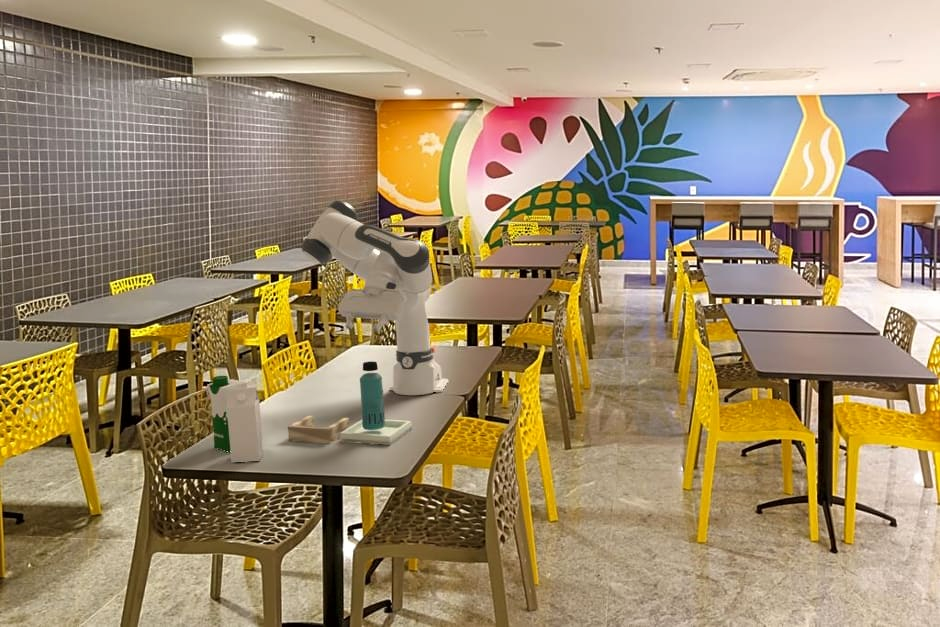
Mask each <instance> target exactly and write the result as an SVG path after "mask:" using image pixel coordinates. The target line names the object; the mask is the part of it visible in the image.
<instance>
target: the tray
mask: <svg viewBox="0 0 940 627" xmlns="http://www.w3.org/2000/svg"><path fill="white" fill-rule="evenodd" d="M384 422H385V423H384V424H385V425H384V427H383V428H381V429H377V430H366V429H364V428H363V425H362V419H360V420H359V421H357V422H355V423H353V424H352V425H350V426H349V428H347V429H346V430H344V431H343V432H341V433H340V438H339V440H340V441H344V442H343V443H349V442H361V443H360V444H363V443H374V444H373V445H377V444H383V445H382V446H392V445H393V444H394V443H395V442H397V441H399V440H400V439H401V438H403V437H404V436H405V435H407V434H408V433H409V432H410V431H412V430H413V424H412V422H413V421H412V420H398V419H397V420H396V419H385V420H384ZM391 444H392V445H391Z"/></svg>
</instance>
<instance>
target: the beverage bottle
mask: <svg viewBox="0 0 940 627" xmlns="http://www.w3.org/2000/svg"><path fill="white" fill-rule="evenodd" d="M378 369H379V367H378V363H377V361H364V362H363V363H362V371H363V372H368V373H364V374H363V375H361V376H360V378H359V386H360V387H359V388H360V389H359V390H360V403H361V406H360V407H361V418H362V419H361V420H362V425H363V428H364V429H366V430H377V429H381V428H383V427H384V425H385V424H384V423H385V422H384V420H386V418H385V404H384V389H383V377H382V376H381V374H379V373H378V372H373V371H377V370H378Z"/></svg>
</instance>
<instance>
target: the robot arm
mask: <svg viewBox="0 0 940 627" xmlns="http://www.w3.org/2000/svg"><path fill="white" fill-rule="evenodd" d="M301 251H302V252H303V254H304V255H305V257H306V258H307V259H308V260H309V261H311V262H313V263H315V264H318V265H326V264H328V263H329V262H330V261H331V260H332V259H333V258H334V259H335V260H336V261H338V263H340V264H341V265H342V266H343V267H344V268H345V269H346V270H348V271H349V272H351V273H352V274H354V275H355V276H357V277H358V278H360V279H361V280H362V281H364V282H365V283H364V286H363V288H362V289H361V288H360V289H357V288H353V289H351V290H348V291H347V292H346V293H345V295H344V296H343V298H342V300H341V301H340V302H339V304H338V306H337V310H338V313H340V315H341V316H342V317H343V318H345V319H346V323H345V325H344V326H345V329H347V330H353V327H354V323H353V322H352V321H353V320H354V319H368V320H370V319H371V320H378V322H374V325H373V327H372V328H373V330H374V331H375V332H380V331H381V329H382V328H383V327H384V326H385V325H386V324H387V323H388V322H389V321H394V324H395V332H396V348H397V349H396V350H395V352H396V353H395V357H396V358H395V359H396V363H395V364H394V365H393V370H392V372H393V374H392V375H393V376H392V378H393V380H392V385H390V386H389V391H392V392H394V393H395V394H397V395H401V396H402V395H403V396H420V395H421V396H422V395H429V394H433V392H436V393H442V392H443V391H444V390H445V388H446V387H447V385H448V384H449V379H448V378H445V377H443V376H442V375H443V374H442V366H440V364H438V362H436V361H435V359H434V355H433V354H434V353H435V351H436V349H435V346H431V336H430V335H431V334H430V323H429V320H428V316H427V311H426V302H427V301H428V300H429V299H430V296H431V294H432V293H431V292H432V286H431V285H432V284H433V281H434V279H433V273H432V266H431V262H430V250H429V248H428V246H427V245H426V244H425V243H424V242H423V241H421V240H419V239H415V238H410V237H402V236H400V235H398V234H395V233H393V232H390V231H388V230H386V229H383V228H380V227H378V226H375V225H373V224H369V223H368V224H364V223H362V222H360V221H359V215H358V212H357V211H356V210H355V208H354V207H353V206H352V205H351V204H349V203H348V202H346V201H343V200H340V199H339V200H338V199H337V200H336V199H335V200H334V201H333V202H331V203H330V204H329V205H328V206H327V208H326V210H324V211H323V212H322V214H321V215H320V216H319V218H318V219H317V220H316V221H315V224H314V225H313V227H312V228H311V230H310V231H309V233H308V235H307V236H306V238H304V239H303V242H302V245H301ZM447 383H448V384H447ZM445 386H446V387H445ZM443 389H444V390H443Z"/></svg>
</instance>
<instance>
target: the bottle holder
mask: <svg viewBox="0 0 940 627" xmlns="http://www.w3.org/2000/svg"><path fill="white" fill-rule="evenodd" d="M349 427H350V418H349V417H343V418H341V419H339V420H338V421H336V422H335V423H333V424H331V425H329V426H328V427H325V426H323V427H322V426H315V423H314V415H307V416H305V417H303V418H301V419H299V420H297V421H296V422H293V423H292V424H290V425H289V426H287V432H288V434H287V436H288V441H289V440H292V441H291V442H301V441H305V442H304V443H315V442H318V443H319V442H320V443H319V444H329V443H331V442H332V443H334V442H335V441H337V440H338V438H339V439H340V433H341V432H343V431H344V430H346V429H347V428H349ZM336 439H337V440H336ZM333 441H334V442H333ZM318 443H317V444H318ZM332 443H331V444H332Z"/></svg>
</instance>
